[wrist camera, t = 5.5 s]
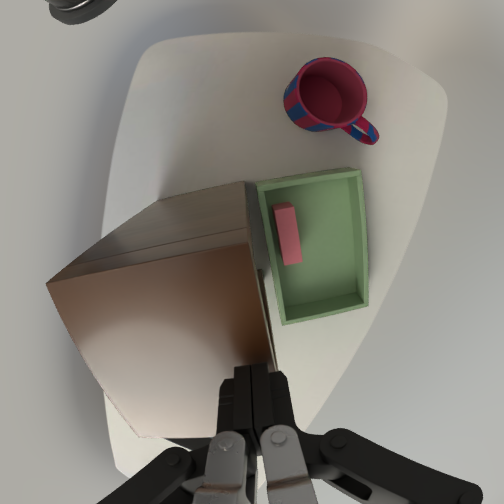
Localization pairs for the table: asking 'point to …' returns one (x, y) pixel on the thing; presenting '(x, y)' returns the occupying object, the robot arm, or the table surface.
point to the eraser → (287, 233)
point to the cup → (329, 99)
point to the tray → (319, 243)
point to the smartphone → (191, 442)
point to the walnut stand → (170, 310)
